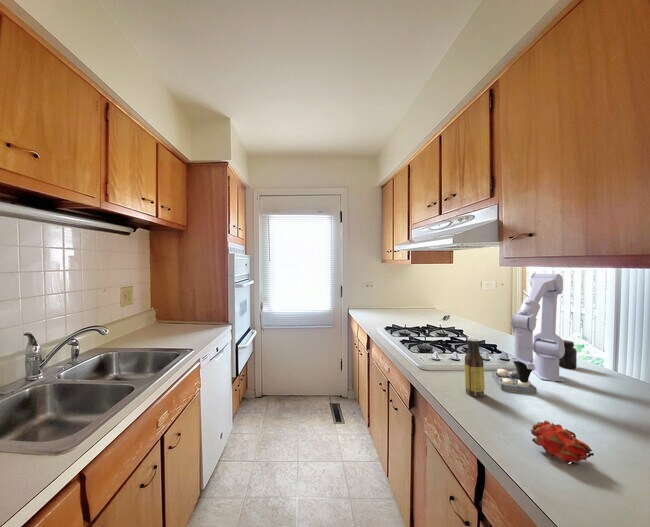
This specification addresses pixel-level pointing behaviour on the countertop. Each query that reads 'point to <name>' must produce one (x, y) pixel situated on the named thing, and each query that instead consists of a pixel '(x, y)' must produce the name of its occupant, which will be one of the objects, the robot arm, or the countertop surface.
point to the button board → (514, 385)
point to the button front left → (523, 383)
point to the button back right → (502, 372)
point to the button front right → (507, 381)
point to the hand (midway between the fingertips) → (523, 381)
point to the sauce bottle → (474, 369)
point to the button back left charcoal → (515, 374)
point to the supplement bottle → (569, 356)
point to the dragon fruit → (560, 442)
